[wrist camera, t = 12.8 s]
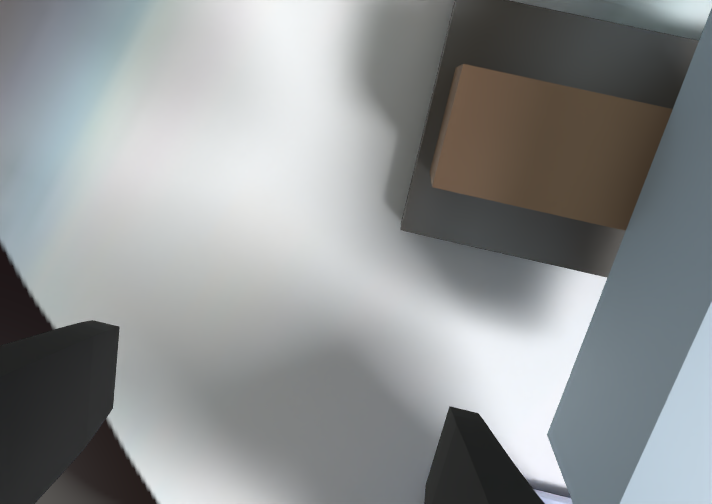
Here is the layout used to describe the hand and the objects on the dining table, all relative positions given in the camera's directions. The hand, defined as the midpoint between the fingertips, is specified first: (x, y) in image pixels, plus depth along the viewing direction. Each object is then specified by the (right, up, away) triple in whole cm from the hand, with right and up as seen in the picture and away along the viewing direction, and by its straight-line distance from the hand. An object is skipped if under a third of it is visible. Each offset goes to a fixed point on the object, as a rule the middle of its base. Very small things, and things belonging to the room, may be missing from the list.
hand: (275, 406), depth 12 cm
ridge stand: (+12, +6, +8) cm, 16 cm away
